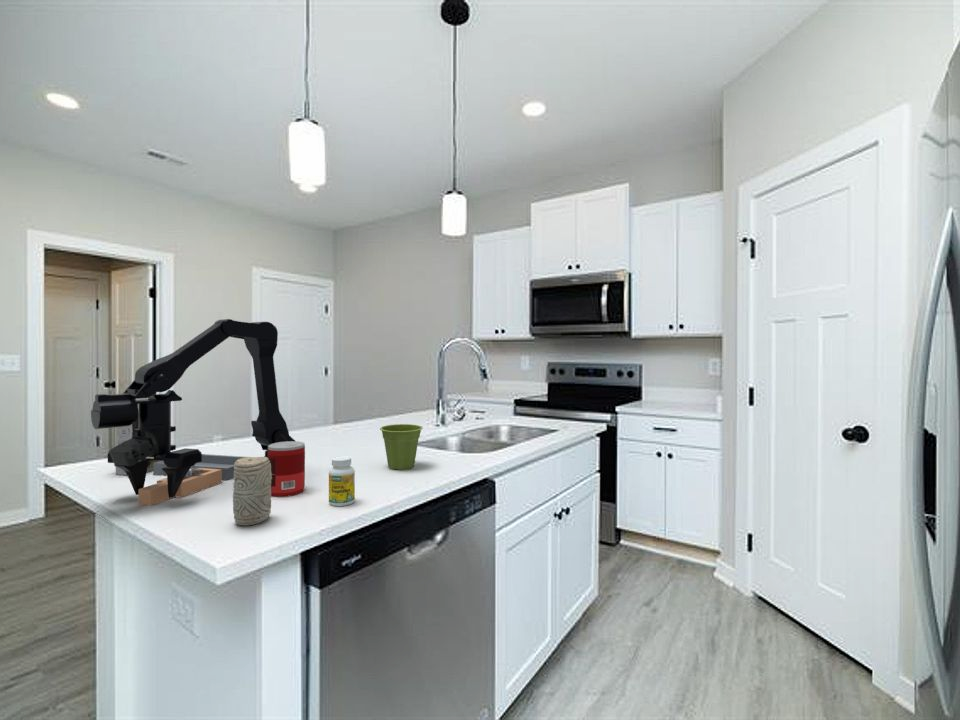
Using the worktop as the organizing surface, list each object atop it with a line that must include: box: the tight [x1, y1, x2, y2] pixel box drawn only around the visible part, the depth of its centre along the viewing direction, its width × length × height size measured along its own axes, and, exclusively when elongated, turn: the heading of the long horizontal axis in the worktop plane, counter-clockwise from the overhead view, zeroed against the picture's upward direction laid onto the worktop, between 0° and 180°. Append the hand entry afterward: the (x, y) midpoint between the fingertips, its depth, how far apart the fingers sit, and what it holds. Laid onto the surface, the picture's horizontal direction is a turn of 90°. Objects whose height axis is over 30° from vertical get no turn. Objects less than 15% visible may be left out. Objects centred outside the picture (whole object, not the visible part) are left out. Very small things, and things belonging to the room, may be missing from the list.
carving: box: [232, 456, 272, 526], centre depth 90 cm, size 6×8×12 cm
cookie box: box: [115, 409, 159, 476], centre depth 125 cm, size 9×6×16 cm
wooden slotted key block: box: [138, 468, 223, 506], centre depth 107 cm, size 18×6×3 cm, turn 168°
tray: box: [152, 453, 253, 481], centre depth 125 cm, size 22×12×3 cm, turn 78°
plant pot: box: [379, 423, 424, 471], centre depth 132 cm, size 12×12×11 cm
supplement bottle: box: [328, 455, 356, 507], centre depth 101 cm, size 5×5×10 cm
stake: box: [186, 468, 203, 479], centre depth 110 cm, size 4×2×5 cm, turn 78°
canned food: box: [268, 440, 306, 498], centre depth 108 cm, size 8×8×11 cm
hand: (155, 495), depth 101 cm, fingers open, 8 cm apart
